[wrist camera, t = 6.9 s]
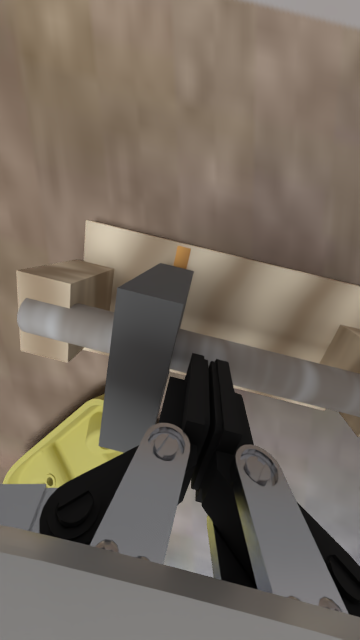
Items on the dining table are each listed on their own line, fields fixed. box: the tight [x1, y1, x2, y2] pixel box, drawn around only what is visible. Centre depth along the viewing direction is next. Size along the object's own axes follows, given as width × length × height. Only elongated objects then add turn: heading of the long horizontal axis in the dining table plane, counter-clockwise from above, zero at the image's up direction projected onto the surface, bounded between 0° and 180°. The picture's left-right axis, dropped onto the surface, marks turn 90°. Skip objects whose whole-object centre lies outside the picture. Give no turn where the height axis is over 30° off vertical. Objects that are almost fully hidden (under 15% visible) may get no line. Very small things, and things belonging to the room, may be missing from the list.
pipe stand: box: [16, 220, 360, 437], centre depth 15 cm, size 24×11×8 cm, turn 77°
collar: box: [99, 263, 194, 453], centre depth 13 cm, size 2×8×8 cm, turn 167°
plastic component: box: [3, 394, 123, 488], centre depth 25 cm, size 20×7×10 cm
